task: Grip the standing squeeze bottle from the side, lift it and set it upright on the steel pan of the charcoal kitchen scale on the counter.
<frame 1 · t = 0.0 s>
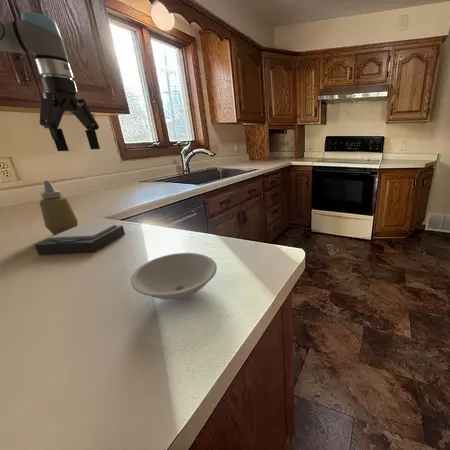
hand: (80, 150, 82), 27 cm above the counter, tool pointing down, fingers open, 13 cm apart
dish: (180, 293, 49), on the counter
kitchen scale: (85, 243, 75), on the counter
squeeze bottle: (66, 234, 83), on the counter
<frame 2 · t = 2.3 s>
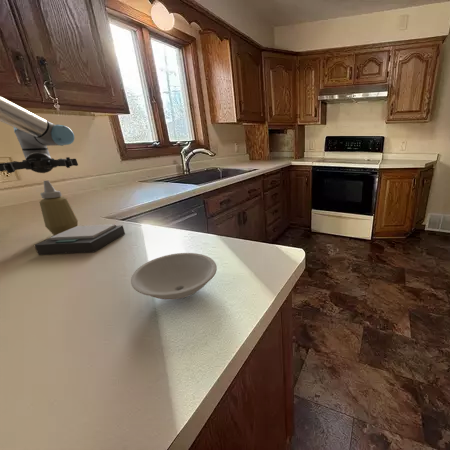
hand: (40, 165, 82), 22 cm above the counter, tool horizontal, fingers open, 13 cm apart
nothing on the counter moved.
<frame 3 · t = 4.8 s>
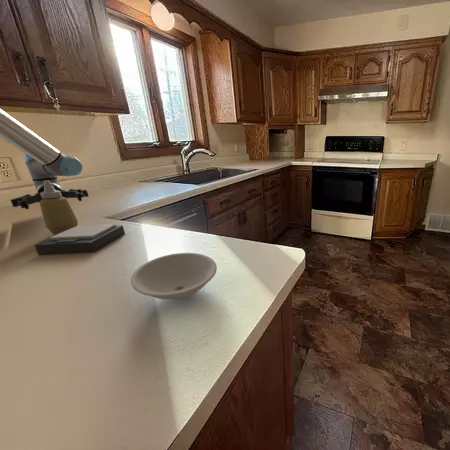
hand: (53, 201, 84), 10 cm above the counter, tool horizontal, fingers open, 13 cm apart
nothing on the counter moved.
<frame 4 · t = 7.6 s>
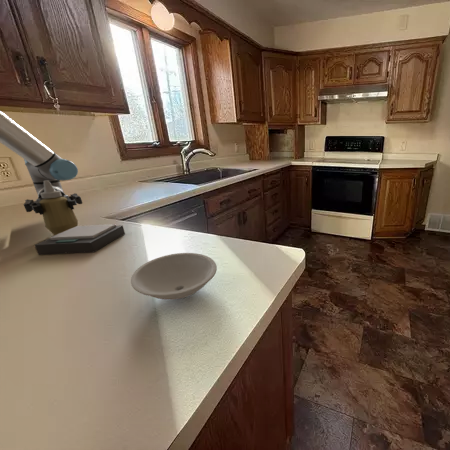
hand: (56, 207, 77), 10 cm above the counter, tool horizontal, fingers closed on squeeze bottle, 6 cm apart
squeeze bottle: (66, 234, 83), on the counter, touching gripper
everything else where it was.
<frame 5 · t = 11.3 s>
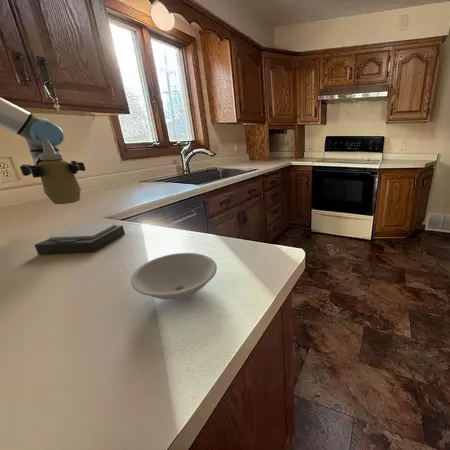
hand: (57, 170, 68), 22 cm above the counter, tool horizontal, fingers closed on squeeze bottle, 6 cm apart
squeeze bottle: (67, 203, 75), point 12 cm above the counter, touching gripper
everything else where it was.
when the fingers open (14 cm above the counter, at t = 14.8 s): squeeze bottle stays where it is, resting on kitchen scale.
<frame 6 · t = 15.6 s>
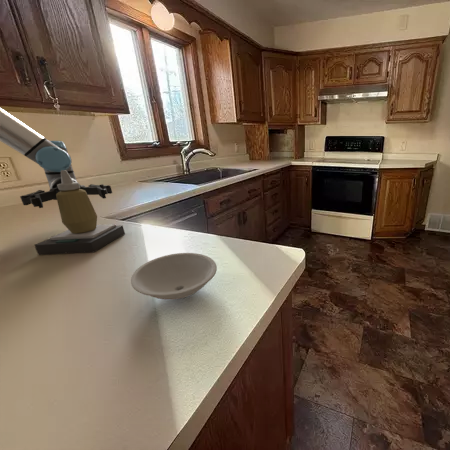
hand: (73, 198, 68), 14 cm above the counter, tool horizontal, fingers open, 13 cm apart
squeeze bottle: (84, 231, 74), point 4 cm above the counter, touching kitchen scale
everything else where it was.
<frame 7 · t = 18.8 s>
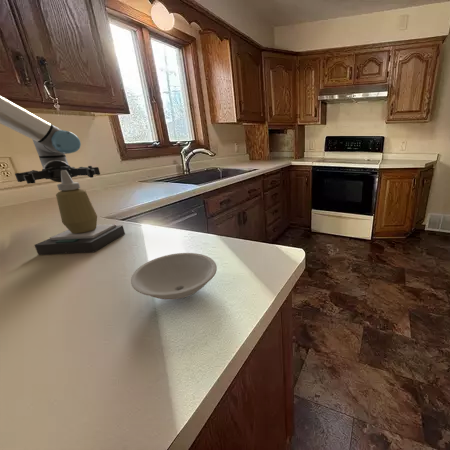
hand: (63, 175, 76), 19 cm above the counter, tool horizontal, fingers open, 13 cm apart
nothing on the counter moved.
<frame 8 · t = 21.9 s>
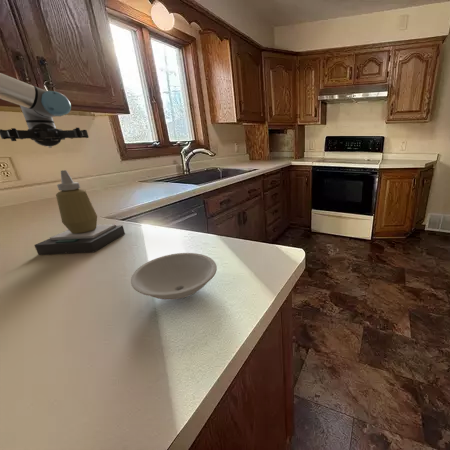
hand: (48, 133, 73), 32 cm above the counter, tool horizontal, fingers open, 13 cm apart
nothing on the counter moved.
at the end: squeeze bottle inside the target area on the kitchen scale (0.2 cm from its centre), point 3.6 cm above the kitchen scale's base; squeeze bottle tilted 0°; the gripper is holding nothing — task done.
